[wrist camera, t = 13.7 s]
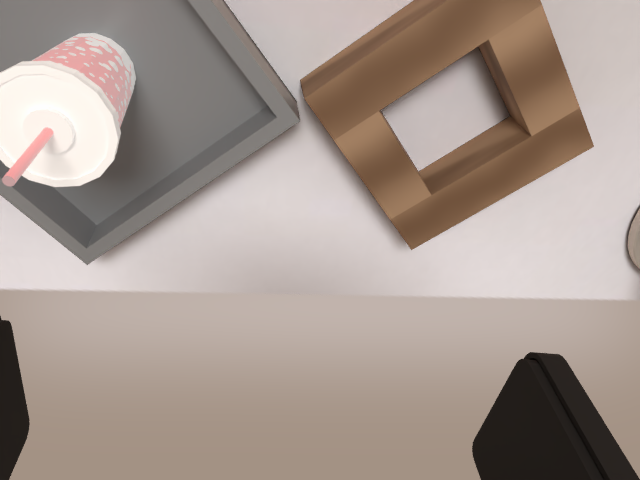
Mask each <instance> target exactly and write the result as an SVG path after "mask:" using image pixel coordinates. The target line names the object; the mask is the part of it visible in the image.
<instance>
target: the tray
mask: <svg viewBox="0 0 640 480" xmlns="http://www.w3.org/2000/svg"><path fill="white" fill-rule="evenodd" d="M81 33H96V34H99V35H102V36H105V37H107V38H110V39H112V40H113V41H114V42H116V43H117V44H118V45H119V46H121V47H122V48H123V49H124V50H125V51H126V53H127V55H128V56H129V58H130V59H131V61H132V63H133V65H134V70H135V75H136V81H135V85H134V90H133V93H132V96H131V99H130V102H129V104H128V107H127V110H126V113H125V116H124V118H123V121H122V124H121V127H120V131H121V135H120V139H119V144H118V149H117V153H116V155H115V159H114V161H113V162H112V163H111V164H110V166H109V167H108V168H107V169H106V170H105V171H104V173H103V174H102V175H101V176H100V177H98V178H96V179H94V180H92V181H90V182H87V183H85V184H83V185H81V186H68V187H53V186H49V185H45V184H42V183H38V182H34V181H31V180H28V179H27V178H25V177H23V176H21V177H20V178H19V179H18V181H17V182H16V183H15V185H14V186H6V185H5V184H4V183H3V182H2V178H3V177H4V176H5V174H6V173H7V172H8V171H9V170H10V168H9V167H7V166H5V164H4V163H3V162H2V161H1V160H0V195H1V196H2V197H4V198H5V199H6V200H7V201H9V202H10V203H11V204H12V205H14V206H15V207H16V208H17V209H19V210H20V211H21V212H22V213H23V214H25V215H26V216H27V217H28V218H30V219H31V220H32V221H33V222H35V223H36V224H37V225H38V226H40V227H41V228H42V229H43V230H45V231H46V232H47V233H48V234H50V235H51V236H52V237H53V238H55V239H56V240H57V241H58V242H59V243H61V244H62V245H63V246H64V247H66V248H67V249H68V250H69V251H71V252H72V253H73V254H74V255H76V256H77V257H78V258H79V259H81V260H82V261H83V262H84V263H86V264H87V265H88V264H89V263H91V262H92V261H94V260H95V259H97V258H98V257H100V256H101V255H103V254H104V253H106V252H107V251H109V250H110V249H111V248H113V247H114V246H116V245H117V244H119V243H120V242H122V241H123V240H125V239H126V238H128V237H129V236H131V235H132V234H134V233H135V232H137V231H138V230H140V229H141V228H143V227H144V226H146V225H147V224H148V223H150V222H151V221H153V220H154V219H156V218H157V217H159V216H160V215H162V214H163V213H165V212H166V211H168V210H169V209H171V208H172V207H174V206H175V205H177V204H178V203H180V202H181V201H182V200H184V199H185V198H187V197H188V196H190V195H191V194H193V193H194V192H196V191H197V190H199V189H200V188H202V187H203V186H205V185H206V184H208V183H209V182H211V181H212V180H214V179H215V178H217V177H218V176H219V175H221V174H222V173H224V172H225V171H227V170H228V169H230V168H231V167H233V166H234V165H236V164H237V163H239V162H240V161H242V160H243V159H245V158H246V157H248V156H249V155H251V154H252V153H253V152H255V151H256V150H258V149H259V148H261V147H262V146H264V145H265V144H267V143H268V142H270V141H271V140H273V139H274V138H276V137H277V136H279V135H280V134H282V133H283V132H285V131H286V130H288V129H289V128H290V127H292V126H293V125H295V124H296V123H298V122H299V121H300V118H299V113H298V107H297V102H296V100H295V98H294V97H293V96H292V94H291V93H290V91H289V90H288V89H287V87H286V86H285V84H284V83H283V82H282V80H281V79H280V77H279V76H278V75H277V73H276V72H275V71H274V69H273V68H272V66H271V65H270V64H269V62H268V61H267V59H266V58H265V57H264V55H263V54H262V53H261V51H260V50H259V48H258V47H257V46H256V44H255V43H254V41H253V40H252V39H251V37H250V36H249V34H248V33H247V32H246V30H245V29H244V28H243V26H242V25H241V23H240V22H239V21H238V19H237V18H236V16H235V15H234V14H233V12H232V11H231V9H230V8H229V7H228V5H227V4H226V3H225V1H224V0H0V72H2V71H4V70H6V69H8V68H10V67H12V66H14V65H16V64H18V63H20V62H22V61H32V60H34V59H35V58H37V57H39V56H40V55H42V54H44V53H45V52H47V51H49V50H50V49H52V48H54V47H55V46H57V45H59V44H60V43H62V42H64V41H66V40H67V39H69V38H71V37H73V36H75V35H77V34H81Z"/></svg>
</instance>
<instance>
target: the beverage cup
mask: <svg viewBox="0 0 640 480" xmlns="http://www.w3.org/2000/svg"><path fill="white" fill-rule="evenodd" d="M135 81H136V75H135V70H134V65H133V63H132V61H131V59H130V58H129V56H128V55H127V53H126V51H125V50H124V49H123V48H122V47H121V46H119V45H118V44H117V43H116V42H114V41H113V40H112V39H110V38H107V37H105V36H102V35H99V34H96V33H81V34H77V35H75V36H73V37H71V38H69V39H67V40H66V41H64V42H62V43H60V44H59V45H57V46H55V47H54V48H52V49H50V50H49V51H47V52H45V53H44V54H42V55H40V56H39V57H37V58H35V59H34V60H32V61H22V62H20V63H18V64H16V65H14V66H12V67H10V68H8V69H6V70H4V71H2V72H0V160H1V161H2V162H3V163H4V164H5V166H7V167H9V168H10V170H9V171H8V172H7V173H6V174H5V176H4V177H3V178H2V182H3V183H4V184H5V185H6V186H14V185H15V183H16V182H17V181H18V179H19V178H20V177H21V176H23V177H25V178H27V179H28V180H31V181H34V182H38V183H42V184H45V185H49V186H53V187H68V186H81V185H83V184H85V183H87V182H90V181H92V180H94V179H96V178H98V177H100V176H101V175H102V174H103V173H104V171H105V170H106V169H107V168H108V167H109V166H110V164H111V163H112V162H113V161H114V159H115V155H116V153H117V149H118V144H119V139H120V135H121V131H120V127H121V124H122V121H123V118H124V116H125V113H126V110H127V107H128V104H129V102H130V99H131V96H132V93H133V90H134V85H135Z"/></svg>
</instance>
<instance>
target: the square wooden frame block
mask: <svg viewBox="0 0 640 480" xmlns="http://www.w3.org/2000/svg"><path fill="white" fill-rule="evenodd" d="M476 47H479V49H480V51H481V53H482V56H483V58H484V60H485V62H486V64H487V66H488V69H489V71H490V73H491V75H492V77H493V80H494V82H495V84H496V86H497V88H498V90H499V93H500V95H501V97H502V99H503V101H504V103H505V106H506V108H507V110H508V112H509V114H510V117H508V118H506V119H505V120H503V121H501V122H500V123H498V124H496V125H495V126H493V127H491V128H490V129H488V130H487V131H485V132H483V133H482V134H480V135H478V136H477V137H475V138H473V139H472V140H470V141H468V142H467V143H465V144H463V145H462V146H460V147H459V148H457V149H455V150H454V151H452V152H450V153H449V154H447V155H445V156H444V157H442V158H440V159H439V160H437V161H435V162H434V163H432V164H430V165H429V166H427V167H426V168H424V169H422V170H421V171H419V172H418V170H417V168H416V167H415V165H414V164H413V162H412V160H411V159H410V157H409V156H408V154H407V152H406V151H405V149H404V148H403V146H402V144H401V143H400V141H399V140H398V138H397V136H396V135H395V133H394V131H393V130H392V128H391V127H390V125H389V123H388V122H387V120H386V119H385V117H384V115H383V114H382V112H381V111H380V110H381V109H383V108H384V107H386V106H387V105H389V104H390V103H392V102H394V101H395V100H397V99H398V98H400V97H401V96H403V95H404V94H406V93H407V92H409V91H410V90H412V89H413V88H415V87H417V86H418V85H420V84H421V83H423V82H424V81H426V80H427V79H429V78H430V77H432V76H433V75H435V74H436V73H438V72H440V71H441V70H443V69H444V68H446V67H447V66H449V65H450V64H452V63H453V62H455V61H456V60H458V59H459V58H461V57H463V56H464V55H466V54H467V53H469V52H470V51H472V50H473V49H475V48H476ZM300 81H301V86H302V91H303V95H304V99H305V100H306V102H307V103H308V105H309V106H310V108H311V109H312V110H313V112H314V113H315V115H316V116H317V117H318V119H319V120H320V122H321V123H322V124H323V126H324V127H325V129H326V130H327V132H328V133H329V134H330V136H331V137H332V139H333V140H334V141H335V143H336V144H337V146H338V147H339V148H340V150H341V151H342V153H343V154H344V155H345V157H346V158H347V160H348V161H349V163H350V164H351V165H352V167H353V168H354V170H355V171H356V172H357V174H358V175H359V177H360V178H361V179H362V181H363V182H364V184H365V185H366V187H367V188H368V189H369V191H370V192H371V194H372V195H373V196H374V198H375V199H376V201H377V202H378V203H379V205H380V206H381V208H382V209H383V210H384V212H385V213H386V215H387V216H388V218H389V219H390V220H391V222H392V223H393V225H394V226H395V227H396V229H397V230H398V232H399V233H400V234H401V236H402V237H403V239H404V240H405V242H406V243H407V244H408V246H409V247H410V249H411V250H412V249H414V248H416V247H418V246H419V245H421V244H423V243H425V242H426V241H428V240H430V239H432V238H433V237H435V236H437V235H439V234H440V233H442V232H444V231H446V230H448V229H449V228H451V227H453V226H455V225H456V224H458V223H460V222H462V221H463V220H465V219H467V218H469V217H470V216H472V215H474V214H476V213H478V212H479V211H481V210H483V209H485V208H486V207H488V206H490V205H492V204H493V203H495V202H497V201H499V200H500V199H502V198H504V197H506V196H508V195H509V194H511V193H513V192H515V191H516V190H518V189H520V188H522V187H523V186H525V185H527V184H529V183H530V182H532V181H534V180H536V179H538V178H539V177H541V176H543V175H545V174H546V173H548V172H550V171H552V170H553V169H555V168H557V167H559V166H561V165H562V164H564V163H566V162H568V161H569V160H571V159H573V158H575V157H576V156H578V155H580V154H582V153H583V152H585V151H587V150H589V149H591V148H592V147H594V145H593V142H592V140H591V137H590V134H589V132H588V129H587V126H586V123H585V121H584V118H583V115H582V112H581V110H580V107H579V104H578V102H577V99H576V96H575V93H574V91H573V88H572V85H571V83H570V80H569V77H568V74H567V72H566V69H565V66H564V63H563V61H562V58H561V55H560V53H559V50H558V47H557V44H556V42H555V39H554V36H553V33H552V31H551V28H550V25H549V23H548V20H547V17H546V14H545V12H544V9H543V6H542V4H541V1H540V0H414V1H412V2H411V3H410V4H408V5H407V6H405V7H404V8H402V9H401V10H400V11H398V12H397V13H395V14H394V15H392V16H391V17H390V18H388V19H387V20H385V21H384V22H382V23H381V24H380V25H378V26H377V27H375V28H374V29H372V30H371V31H370V32H368V33H367V34H365V35H364V36H362V37H361V38H360V39H358V40H357V41H355V42H354V43H352V44H351V45H350V46H348V47H347V48H345V49H344V50H342V51H341V52H339V53H338V54H337V55H335V56H334V57H332V58H331V59H329V60H328V61H327V62H325V63H324V64H322V65H321V66H319V67H318V68H317V69H315V70H314V71H312V72H311V73H309V74H308V75H307V76H305V77H304V78H302V79H301V80H300Z"/></svg>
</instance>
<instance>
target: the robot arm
mask: <svg viewBox="0 0 640 480" xmlns="http://www.w3.org/2000/svg"><path fill="white" fill-rule="evenodd" d="M628 250H629V255H630V257H631V259H632V261H633V263H634V264H635V265H636V266H637V267H638V268H639V269H640V209H639V210H638V212H637V214H636V216H635V218H634V220H633V222H632V224H631V228H630V231H629V235H628ZM28 431H29V416H28V410H27V405H26V400H25V394H24V389H23V384H22V379H21V373H20V368H19V363H18V357H17V352H16V347H15V342H14V336H13V331H12V326H11V323H10V322H9V321H6V320H1V317H0V480H9V478H10V476H11V473H12V471H13V469H14V467H15V464H16V462H17V460H18V457H19V455H20V453H21V451H22V448H23V446H24V444H25V441H26V439H27V435H28ZM472 449H473V450H472V452H473V457H474V461H475V464H476V467H477V470H478V472H479V475H480V478H481V480H640V479H639V478H638V476H637V474H636V473H635V471H634V470H633V468H632V466H631V465H630V463H629V461H628V460H627V459H626V457H625V455H624V453H623V452H622V450H621V449H620V447H619V445H618V444H617V442H616V440H615V439H614V437H613V436H612V434H611V433H610V431H609V429H608V428H607V426H606V424H605V423H604V421H603V419H602V418H601V416H600V415H599V413H598V411H597V410H596V408H595V407H594V405H593V403H592V402H591V400H590V399H589V397H588V395H587V394H586V392H585V390H584V389H583V387H582V386H581V384H580V382H579V381H578V379H577V378H576V376H575V375H574V373H573V371H572V369H571V368H570V366H569V365H568V363H567V361H566V360H565V359H564V358H563V357H562V356H561V355H559V354H547V353H533V352H530V353H528V354H527V355H526V356H525V358H524V359H521V360H519V361H518V362H517V363H516V366H515V367H514V369H513V370H512V372H511V374H510V376H509V378H508V380H507V381H506V383H505V385H504V387H503V389H502V390H501V392H500V394H499V396H498V398H497V399H496V401H495V403H494V405H493V407H492V409H491V410H490V412H489V414H488V416H487V418H486V419H485V421H484V423H483V425H482V427H481V429H480V430H479V432H478V434H477V436H476V437H475V439H474V442H473V448H472Z"/></svg>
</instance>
